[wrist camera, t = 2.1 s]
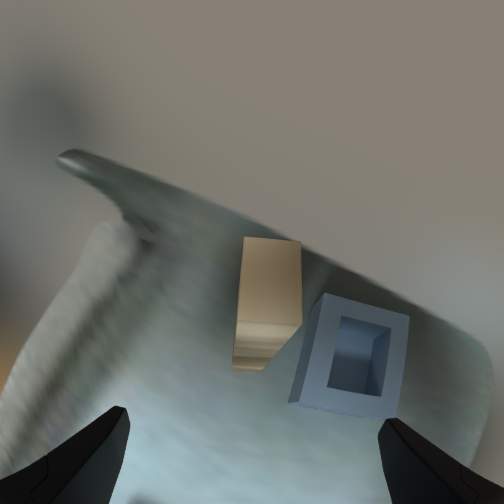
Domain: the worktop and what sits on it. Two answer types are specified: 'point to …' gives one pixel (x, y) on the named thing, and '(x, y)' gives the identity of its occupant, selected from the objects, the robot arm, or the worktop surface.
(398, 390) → the blue-grey socket block
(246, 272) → the slat
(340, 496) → the worktop surface
